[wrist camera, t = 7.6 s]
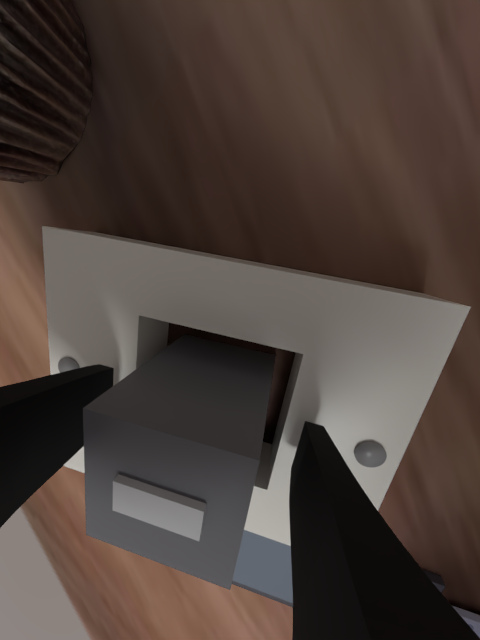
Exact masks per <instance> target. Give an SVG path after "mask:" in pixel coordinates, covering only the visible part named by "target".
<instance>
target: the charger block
mask: <svg viewBox="0 0 480 640" xmlns="http://www.w3.org/2000/svg"><path fill="white" fill-rule="evenodd" d="M275 358H276V355H273V354H269V353H265V352H260V351H256V350H252V349H247V348H243V347H238V346H234V345H230V344H225V343H221V342H217V341H212V340H208V339H204V338H199V337H195V336H190V335H186V334H184V335H182V336H181V337H180V338H178V339H177V340H176V341H174V342H173V343H171V344H170V345H169V346H167V347H166V348H165V349H163V350H162V351H161V352H159V353H158V354H156V355H155V356H154V357H152V358H151V359H150V360H148V361H147V362H146V363H144V364H143V365H141V366H140V367H139V368H137V369H136V370H135V371H133V372H132V373H130V374H129V375H128V376H126V377H125V378H124V379H122V380H121V381H120V382H118V383H117V384H115V385H114V386H113V387H111V388H110V389H109V390H107V391H106V392H104V393H103V394H102V395H100V396H99V397H98V398H96V399H95V400H94V401H92V402H91V403H89V404H88V405H87V406H85V407H84V408H83V432H84V468H85V504H86V535H88V536H91V537H93V538H96V539H99V540H101V541H104V542H107V543H109V544H112V545H114V546H117V547H120V548H122V549H125V550H127V551H130V552H133V553H135V554H138V555H140V556H143V557H146V558H148V559H151V560H153V561H156V562H159V563H161V564H164V565H166V566H169V567H172V568H174V569H177V570H180V571H182V572H185V573H187V574H190V575H193V576H195V577H198V578H200V579H203V580H206V581H208V582H211V583H213V584H216V585H219V586H221V587H224V588H226V589H229V590H230V588H231V584H232V580H233V575H234V571H235V567H236V562H237V558H238V553H239V549H240V545H241V540H242V536H243V532H244V527H245V523H246V518H247V514H248V510H249V505H250V501H251V497H252V492H253V488H254V483H255V479H256V475H257V470H258V466H259V462H260V455H261V449H262V442H263V436H264V429H265V423H266V416H267V410H268V403H269V397H270V390H271V384H272V377H273V371H274V364H275Z"/></svg>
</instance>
